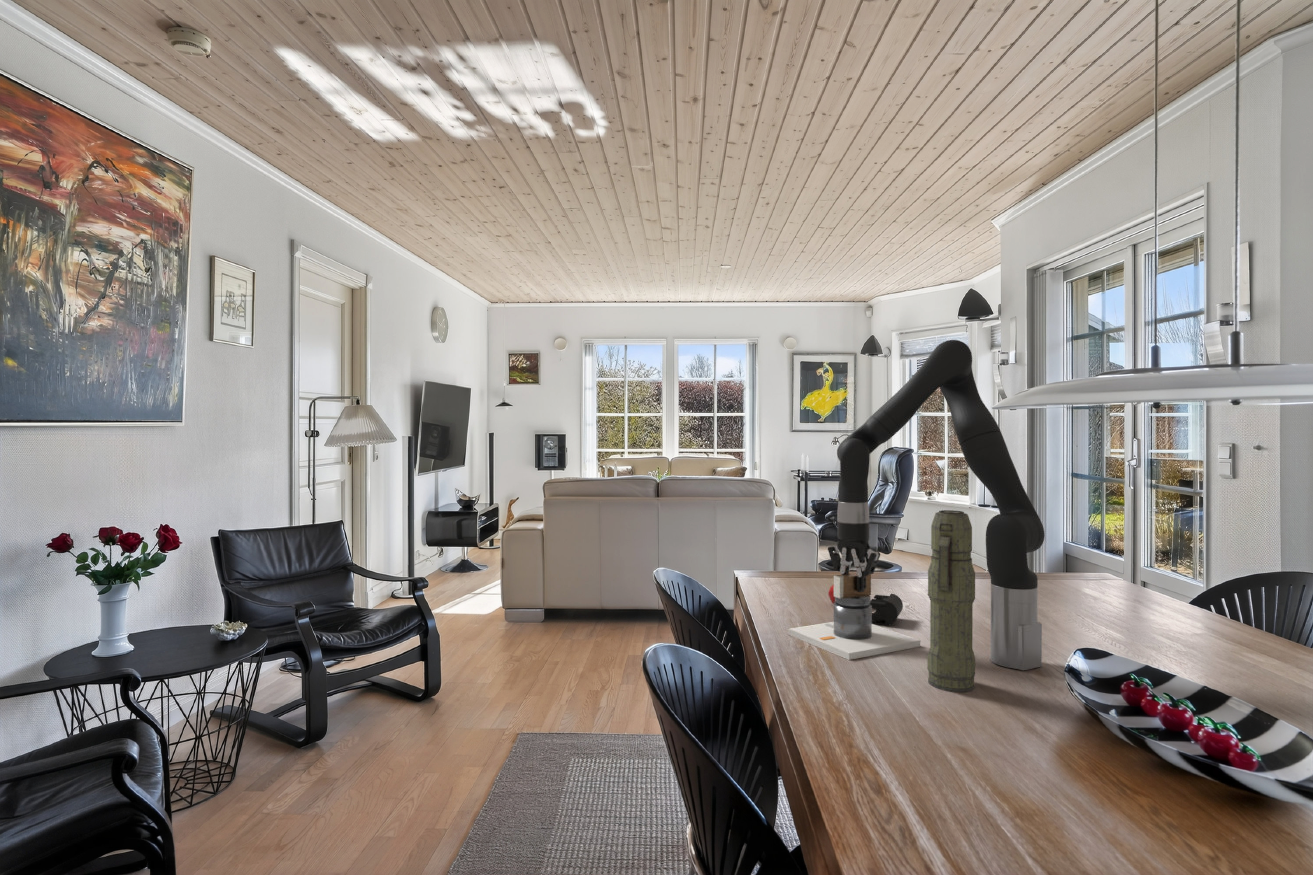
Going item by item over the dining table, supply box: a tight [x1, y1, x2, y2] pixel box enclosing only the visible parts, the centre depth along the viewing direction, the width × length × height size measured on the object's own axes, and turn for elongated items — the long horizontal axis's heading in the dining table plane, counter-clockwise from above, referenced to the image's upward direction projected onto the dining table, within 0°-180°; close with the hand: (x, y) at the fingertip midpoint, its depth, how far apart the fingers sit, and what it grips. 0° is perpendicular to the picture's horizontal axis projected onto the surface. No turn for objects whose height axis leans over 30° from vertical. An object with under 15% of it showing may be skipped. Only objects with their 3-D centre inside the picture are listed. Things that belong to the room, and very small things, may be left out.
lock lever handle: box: [833, 573, 872, 608], centre depth 173 cm, size 9×8×7 cm
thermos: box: [926, 509, 976, 693], centre depth 143 cm, size 9×12×35 cm
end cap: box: [871, 593, 904, 627], centre depth 190 cm, size 10×7×7 cm
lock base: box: [788, 603, 921, 661], centre depth 173 cm, size 22×22×9 cm
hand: (853, 589), depth 173 cm, fingers closed on lock lever handle, 3 cm apart
